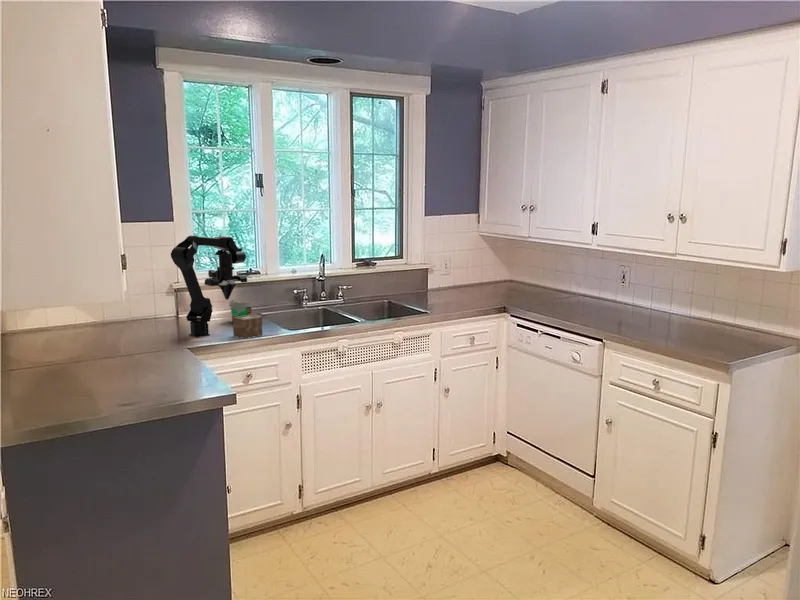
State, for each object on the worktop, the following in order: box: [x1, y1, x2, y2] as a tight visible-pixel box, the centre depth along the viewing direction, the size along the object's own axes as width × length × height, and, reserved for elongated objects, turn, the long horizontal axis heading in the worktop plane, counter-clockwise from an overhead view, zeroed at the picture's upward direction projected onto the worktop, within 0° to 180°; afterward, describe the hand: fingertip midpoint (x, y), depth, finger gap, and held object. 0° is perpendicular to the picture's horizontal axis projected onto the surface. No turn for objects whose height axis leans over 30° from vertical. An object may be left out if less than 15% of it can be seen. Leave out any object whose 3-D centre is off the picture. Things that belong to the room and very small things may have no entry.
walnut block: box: [232, 313, 263, 339], centre depth 262 cm, size 9×8×8 cm
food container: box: [228, 299, 253, 322], centre depth 288 cm, size 12×6×10 cm, turn 62°
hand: (227, 299), depth 275 cm, fingers closed
